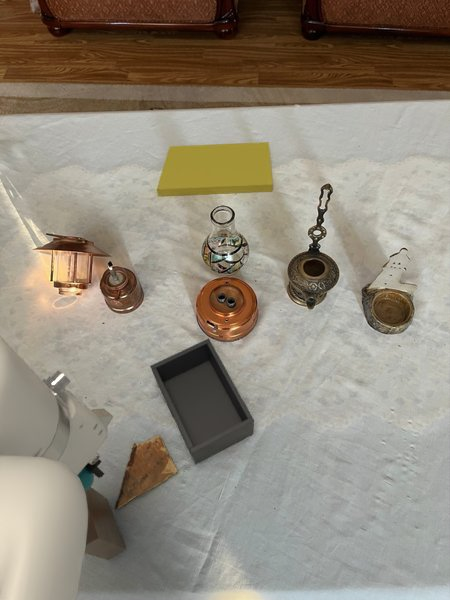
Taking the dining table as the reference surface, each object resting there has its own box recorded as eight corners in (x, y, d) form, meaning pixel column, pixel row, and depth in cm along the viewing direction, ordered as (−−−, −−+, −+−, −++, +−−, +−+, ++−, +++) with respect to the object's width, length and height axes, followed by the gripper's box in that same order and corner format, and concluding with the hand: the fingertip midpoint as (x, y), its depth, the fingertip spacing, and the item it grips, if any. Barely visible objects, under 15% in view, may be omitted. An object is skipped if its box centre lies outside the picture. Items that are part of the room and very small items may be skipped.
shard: (116, 511, 80) (114, 509, 78) (97, 466, 83) (94, 464, 82) (180, 474, 82) (178, 472, 81) (158, 432, 86) (157, 429, 84)
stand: (107, 559, 76) (74, 551, 62) (88, 508, 80) (53, 487, 65) (126, 549, 77) (98, 538, 62) (107, 498, 81) (76, 476, 66)
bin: (253, 434, 85) (254, 420, 78) (195, 464, 83) (191, 453, 76) (211, 356, 92) (208, 338, 85) (156, 382, 90) (150, 365, 83)
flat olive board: (268, 149, 116) (160, 154, 116) (268, 142, 114) (158, 146, 114) (272, 191, 110) (158, 196, 110) (272, 184, 108) (156, 189, 108)
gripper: (58, 326, 43) (108, 399, 59) (-104, 489, 37) (0, 522, 53) (125, 377, 41) (159, 439, 57) (-37, 560, 35) (51, 572, 51)
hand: (82, 478), depth 55 cm, fingers closed
